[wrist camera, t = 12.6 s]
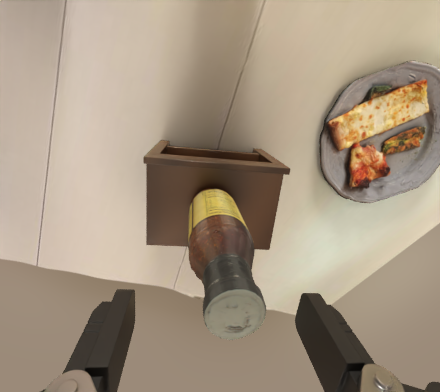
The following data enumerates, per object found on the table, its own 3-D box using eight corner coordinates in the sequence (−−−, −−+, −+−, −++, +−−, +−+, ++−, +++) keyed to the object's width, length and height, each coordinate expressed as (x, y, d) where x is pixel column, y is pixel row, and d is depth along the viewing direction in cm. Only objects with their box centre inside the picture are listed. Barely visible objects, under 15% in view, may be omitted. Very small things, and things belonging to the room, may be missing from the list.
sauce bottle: (218, 234, 36) (241, 372, 17) (180, 213, 34) (161, 339, 16) (245, 198, 34) (302, 306, 16) (207, 174, 33) (220, 263, 14)
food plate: (325, 213, 51) (334, 220, 48) (303, 96, 43) (312, 95, 40) (445, 172, 50) (462, 177, 47) (444, 46, 42) (465, 41, 39)
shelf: (159, 209, 48) (143, 252, 34) (160, 140, 43) (143, 156, 29) (251, 214, 50) (273, 257, 36) (261, 149, 46) (290, 168, 31)
